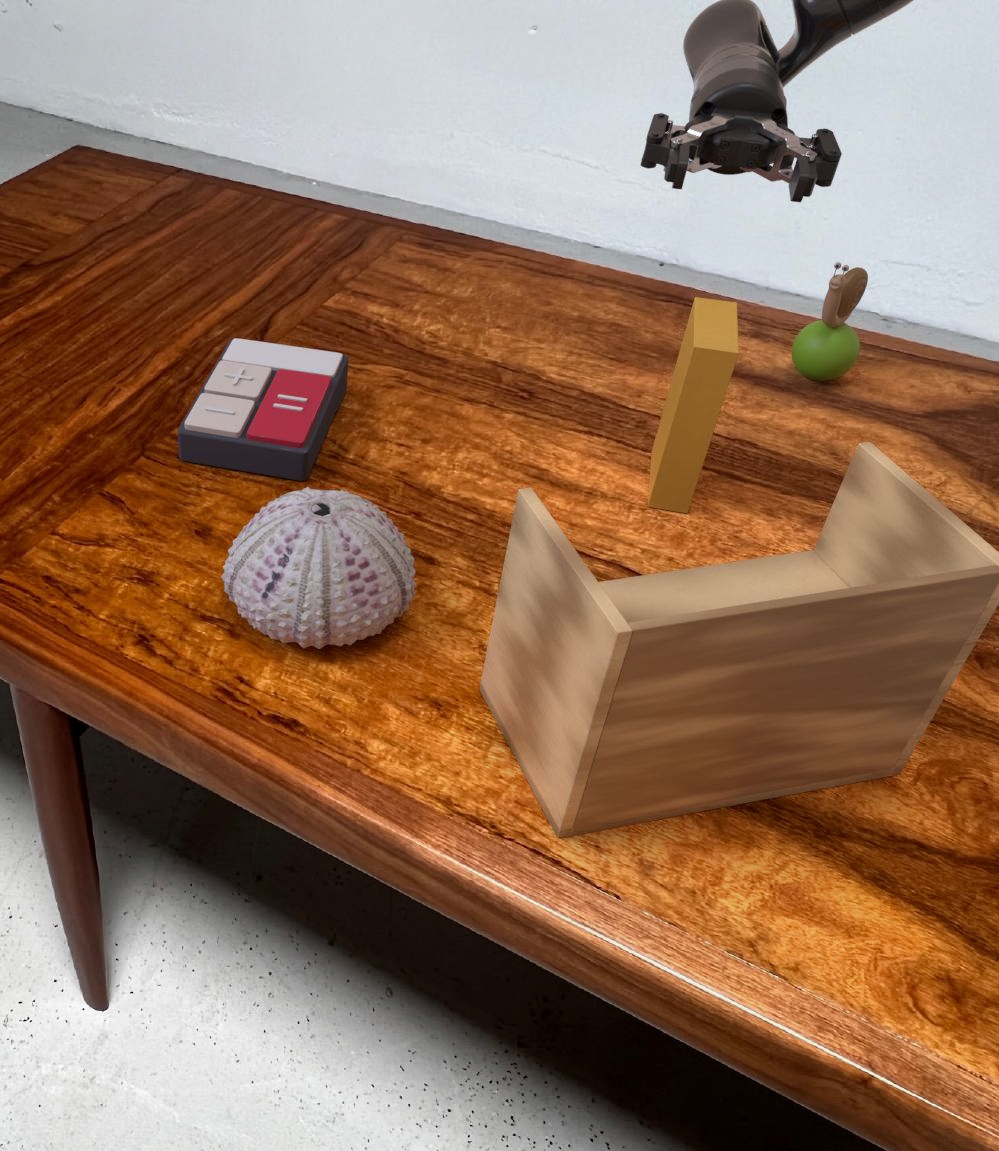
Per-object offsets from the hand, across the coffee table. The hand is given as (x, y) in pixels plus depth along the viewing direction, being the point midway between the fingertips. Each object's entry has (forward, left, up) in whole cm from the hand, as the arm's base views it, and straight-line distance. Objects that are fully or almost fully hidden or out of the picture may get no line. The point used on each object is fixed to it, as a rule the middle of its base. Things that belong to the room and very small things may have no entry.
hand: (739, 183), depth 85 cm
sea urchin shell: (+40, -4, -21) cm, 45 cm away
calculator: (+27, -23, -21) cm, 41 cm away
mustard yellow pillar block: (+9, +5, -21) cm, 23 cm away
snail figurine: (-15, +5, -21) cm, 26 cm away
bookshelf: (+32, +20, -21) cm, 43 cm away
